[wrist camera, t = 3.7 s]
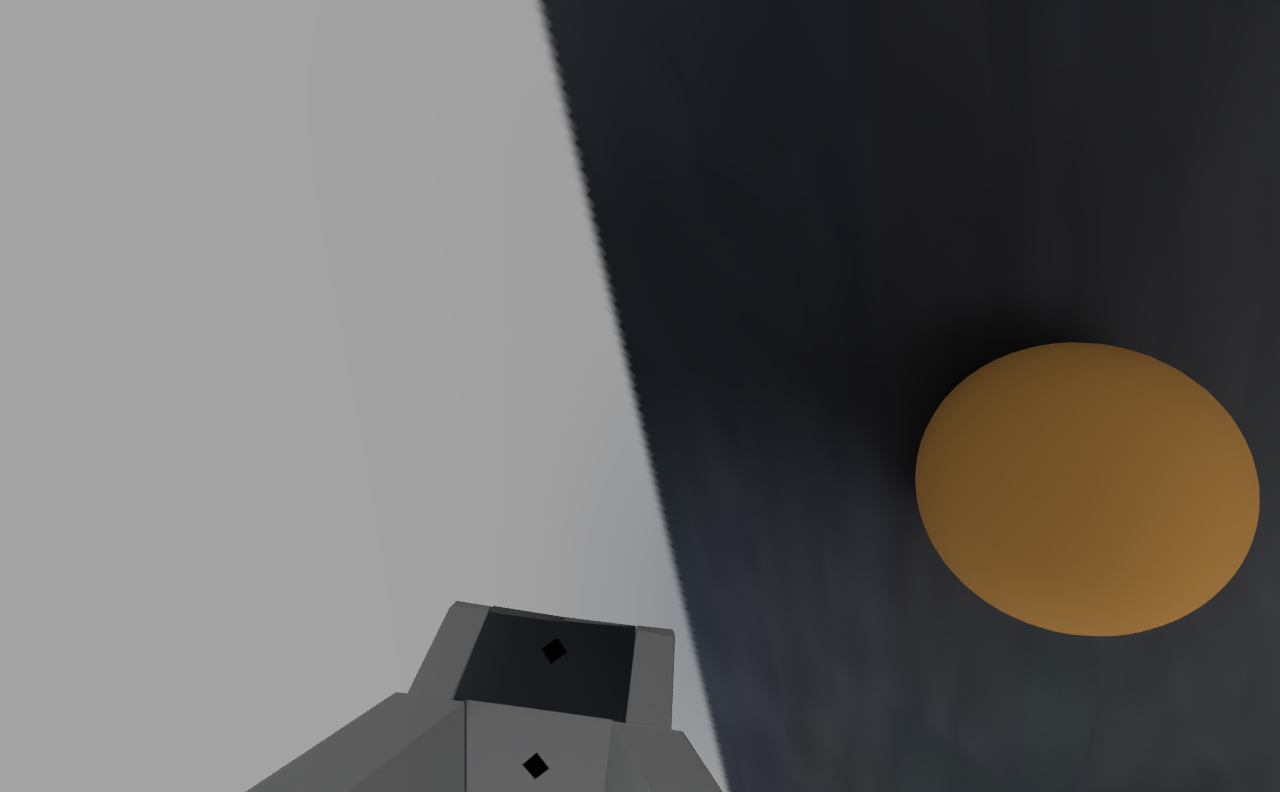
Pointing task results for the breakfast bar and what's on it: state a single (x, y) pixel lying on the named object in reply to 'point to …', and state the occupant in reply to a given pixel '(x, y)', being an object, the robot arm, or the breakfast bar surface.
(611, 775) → the robot arm
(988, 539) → the ball
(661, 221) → the breakfast bar surface
